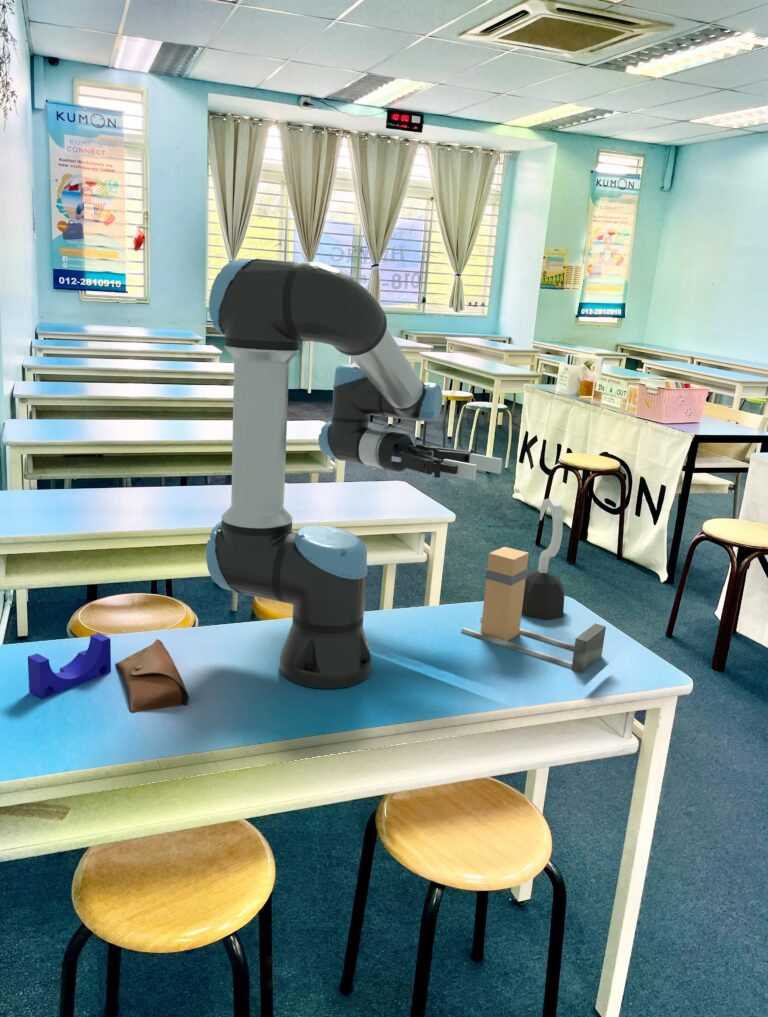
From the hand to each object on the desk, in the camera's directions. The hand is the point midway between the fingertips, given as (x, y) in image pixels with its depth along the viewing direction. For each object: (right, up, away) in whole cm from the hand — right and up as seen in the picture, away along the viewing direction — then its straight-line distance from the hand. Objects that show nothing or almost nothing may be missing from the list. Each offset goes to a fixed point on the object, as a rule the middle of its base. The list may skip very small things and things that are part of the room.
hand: (488, 469), depth 141 cm
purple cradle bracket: (-68, -34, -21) cm, 78 cm away
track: (+8, -33, +1) cm, 34 cm away
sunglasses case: (-55, -35, -20) cm, 68 cm away
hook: (+13, -30, +19) cm, 37 cm away
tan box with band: (+3, -31, +4) cm, 31 cm away
